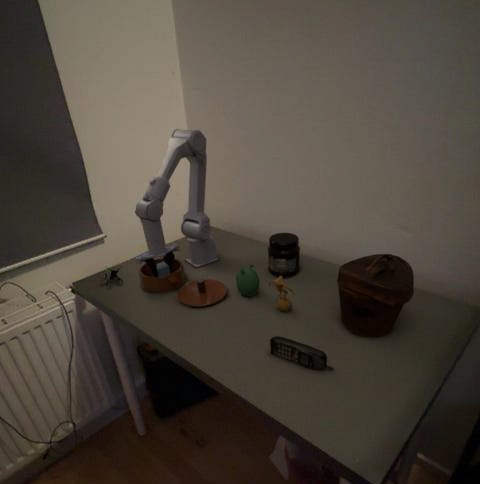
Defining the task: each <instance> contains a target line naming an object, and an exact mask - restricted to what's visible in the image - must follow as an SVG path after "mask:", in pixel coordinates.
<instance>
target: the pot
mask: <svg viewBox="0 0 480 484" xmlns="http://www.w3.org/2000/svg"><path fill="white" fill-rule="evenodd" d="M153 260H154V261H155V262H156V264H159V263H162V262H165V261H164V258H163V257H156V258H153ZM138 276H139V280H140V283H141V286H142V288H143V289H144V290H145V291H146V292H149V293H152V294H153V293H154V294H159V293H160V294H161V293H168V292H171V291H174V290H177V289H178V288H180V287H182V285H184V283H186V282H185V281H186V274H185V269H184V264H183V260H180V259H179V258H176V257H175V258H174V261H173V264H172V270H171V274H169V275H167V276H161V277H154V275H153V273H152V271H151V269H150V268H149V266H148V265H147V264H146V262H145V263H144V262H143V264H141V266H140V267H139V268H138Z"/></svg>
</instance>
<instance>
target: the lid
mask: <svg viewBox="0 0 480 484" xmlns="http://www.w3.org/2000/svg"><path fill="white" fill-rule="evenodd" d="M227 294H228V288H227V286H226V284H224V283H223V282H221V281H219V280H216V279H211V278H210V279H206V278H205V279H204V278H198V279H197V280H192V281H190V282H188V283H185V285H184V284H183V286H181V288H180V289H179V290H178V291H177V299H178V301H179V302H180V303H181V304H183V305H184V306H187V307H194V308H202V307H209V306H212V305H214V304H217V303H219V302H220V301H222V300H223V299H224V298H225V297H226V296H227Z"/></svg>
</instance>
